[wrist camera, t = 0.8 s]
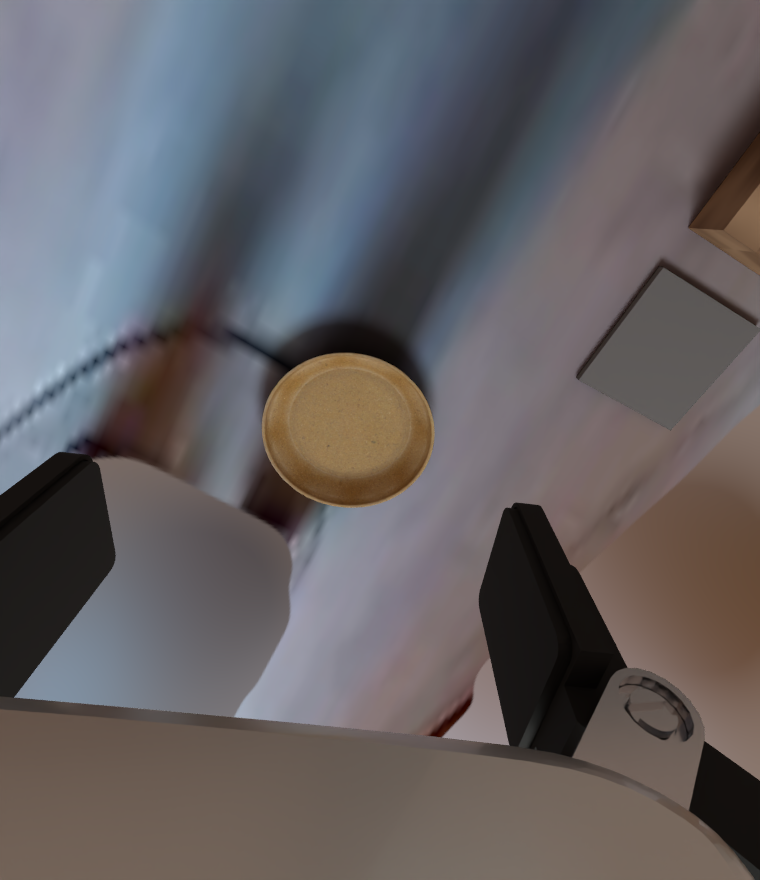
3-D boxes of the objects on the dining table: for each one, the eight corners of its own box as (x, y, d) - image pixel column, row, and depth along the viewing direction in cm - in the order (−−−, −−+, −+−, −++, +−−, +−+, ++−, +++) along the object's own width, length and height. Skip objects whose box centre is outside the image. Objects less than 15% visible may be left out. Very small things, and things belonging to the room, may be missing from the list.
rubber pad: (659, 266, 35) (663, 267, 35) (755, 327, 37) (761, 329, 37) (576, 377, 39) (578, 380, 39) (666, 427, 41) (670, 430, 41)
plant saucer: (458, 377, 40) (462, 387, 37) (398, 510, 46) (399, 526, 44) (291, 319, 38) (285, 326, 35) (253, 466, 44) (245, 481, 42)
